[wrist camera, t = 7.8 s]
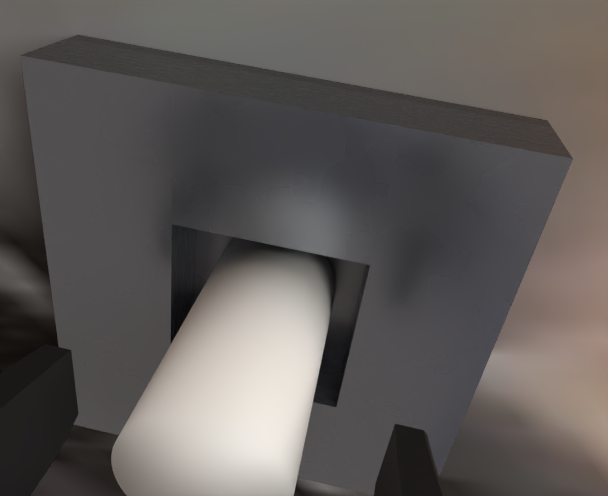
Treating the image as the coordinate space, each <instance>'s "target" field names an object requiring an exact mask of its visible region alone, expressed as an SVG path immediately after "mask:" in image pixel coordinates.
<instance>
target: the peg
mask: <svg viewBox="0 0 608 496" xmlns="http://www.w3.org/2000/svg"><path fill="white" fill-rule="evenodd" d="M335 291H336V281H335V275H334V272H333V269H332V267H331V265H330V263H329V261H328V260H327V258H326V257H325V256H324V255H319V254H314V253H309V252H304V251H299V250H295V249H290V248H285V247H280V246H275V245H270V244H265V243H260V242H256V241H251V240H246V239H241V238H236V239H235V240H233V241H232V242H231V243H230V244H229V245H228V246H227V248H226V249H225V250H224V252H223V254H222V255H221V257H220V259H219V261H218V262H217V264H216V266H215V268H214V269H213V271H212V273H211V275H210V276H209V278H208V280H207V282H206V283H205V285H204V287H203V289H202V291H201V292H200V294H199V296H198V298H197V299H196V301H195V303H194V305H193V306H192V308H191V310H190V312H189V313H188V315H187V317H186V319H185V320H184V322H183V324H182V326H181V327H180V329H179V331H178V333H177V334H176V336H175V338H174V340H173V341H172V343H171V345H170V347H169V349H168V350H167V352H166V354H165V356H164V357H163V359H162V361H161V363H160V364H159V366H158V368H157V370H156V371H155V373H154V375H153V377H152V378H151V380H150V382H149V384H148V385H147V387H146V389H145V391H144V392H143V394H142V396H141V398H140V399H139V401H138V403H137V405H136V407H135V408H134V410H133V412H132V414H131V415H130V417H129V419H128V421H127V422H126V424H125V426H124V428H123V429H122V431H121V433H120V435H119V436H118V438H117V440H116V442H115V444H114V446H113V449H112V453H111V463H112V469H113V473H114V476H115V478H116V480H117V482H118V484H119V486H120V487H121V489H122V490H123V491H124V493H125V494H126V495H127V496H294V491H295V487H296V482H297V477H298V472H299V467H300V462H301V457H302V453H303V448H304V443H305V438H306V433H307V428H308V423H309V419H310V414H311V409H312V404H313V399H314V394H315V389H316V384H317V380H318V375H319V370H320V365H321V360H322V355H323V350H324V346H325V341H326V336H327V331H328V326H329V321H330V316H331V312H332V307H333V302H334V297H335Z"/></svg>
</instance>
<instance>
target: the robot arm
mask: <svg viewBox="0 0 608 496" xmlns="http://www.w3.org/2000/svg"><path fill="white" fill-rule="evenodd" d="M78 414H79V413H78V405H77V396H76V387H75V378H74V370H73V361H72V352H71V350H69V349H65V348H61V347H56V346H52V345H47V344H45V345H43V346H41V347H40V348H38V349H37V350H35V351H33V352H32V353H30V354H29V355H27V356H26V357H24V358H23V359H21V360H19V361H18V362H16V363H15V364H13V365H12V366H10V367H9V368H7V369H6V370H4V371H3V372H1V373H0V496H30V495H31V493H32V492H33V491H34V489H35V488H36V486H37V485H38V483H39V482H40V480H41V479H42V477H43V476H44V474H45V473H46V471H47V470H48V468H49V467H50V465H51V464H52V462H53V461H54V459H55V458H56V456H57V454H58V453H59V451H60V449H61V447H62V445H63V443H64V442H65V440H66V438H67V436H68V434H69V432H70V430H71V428H72V426H73V424H74V422H75V420H76V418H77V416H78ZM374 496H445V494H444V491H443V488H442V485H441V482H440V478H439V475H438V472H437V469H436V465H435V462H434V459H433V455H432V451H431V447H430V444H429V439H428V435H427V434H426V432H425V431H424V430H421V429H417V428H412V427H408V426H403V425H399V424H395V425H394V428H393V431H392V434H391V437H390V440H389V444H388V447H387V450H386V453H385V456H384V459H383V462H382V465H381V468H380V471H379V474H378V477H377V480H376V483H375V491H374Z"/></svg>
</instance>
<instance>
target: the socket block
mask: <svg viewBox="0 0 608 496" xmlns="http://www.w3.org/2000/svg"><path fill="white" fill-rule="evenodd" d="M20 58H21V65H22V73H23V81H24V88H25V96H26V103H27V111H28V118H29V126H30V134H31V141H32V149H33V156H34V164H35V171H36V179H37V187H38V194H39V202H40V209H41V217H42V224H43V232H44V240H45V247H46V255H47V262H48V270H49V277H50V285H51V293H52V300H53V308H54V315H55V323H56V330H57V338H58V346H59V347H61V348H65V349H69V350H71V352H72V361H73V370H74V378H75V387H76V396H77V405H78V413H79V414H78V416H77V418H76V420H75V422H74V424H73V425H78V426H82V427H86V428H90V429H95V430H99V431H103V432H107V433H112V434H116V435H120V433H121V431H122V429H123V428H124V426H125V424H126V422H127V421H128V419H129V417H130V415H131V414H132V412H133V410H134V408H135V407H136V405H137V403H138V401H139V399H140V398H141V396H142V394H143V392H144V391H145V389H146V387H147V385H148V384H149V382H150V380H151V378H152V377H153V375H154V373H155V371H156V370H157V368H158V366H159V364H160V363H161V361H162V359H163V357H164V356H165V354H166V352H167V350H168V349H169V347H170V345H171V343H172V341H173V340H174V338H175V336H176V334H177V333H178V331H179V329H180V327H181V326H182V324H183V322H184V320H185V319H186V317H187V315H188V313H189V312H190V310H191V308H192V306H193V305H194V303H195V301H196V299H197V298H198V296H199V294H200V292H201V291H202V289H203V287H204V285H205V283H206V282H207V280H208V278H209V276H210V275H211V273H212V271H213V269H214V268H215V266H216V264H217V262H218V261H219V259H220V257H221V255H222V254H223V252H224V250H225V249H226V248H227V246H228V245H229V244H230V243H231V242H232V241H233V240H235V239H236V238H241V239H246V240H251V241H256V242H260V243H265V244H270V245H275V246H280V247H285V248H290V249H295V250H299V251H304V252H309V253H314V254H319V255H324V256H325V257H326V258H327V260H328V261H329V263H330V265H331V267H332V269H333V272H334V275H335V281H336V291H335V297H334V302H333V307H332V312H331V316H330V321H329V326H328V331H327V336H326V341H325V346H324V350H323V355H322V360H321V365H320V370H319V375H318V380H317V384H316V389H315V394H314V399H313V404H312V409H311V414H310V419H309V423H308V428H307V433H306V438H305V443H304V448H303V453H302V457H301V462H300V467H299V472H298V477H299V478H303V479H307V480H311V481H316V482H320V483H324V484H328V485H333V486H337V487H341V488H345V489H350V490H354V491H358V492H362V493H367V494H371V495H374V491H375V483H376V480H377V477H378V474H379V471H380V468H381V465H382V462H383V459H384V456H385V453H386V450H387V447H388V444H389V440H390V437H391V434H392V431H393V428H394V425H395V424H399V425H403V426H408V427H412V428H417V429H421V430H424V431H425V432H426V434H427V435H428V439H429V444H430V447H431V451H432V455H433V459H434V462H435V465H436V469H437V472H438V475H439V476H440V473H441V471H442V469H443V466H444V464H445V462H446V459H447V457H448V454H449V452H450V450H451V447H452V445H453V443H454V440H455V438H456V435H457V433H458V431H459V428H460V426H461V424H462V421H463V419H464V416H465V414H466V412H467V409H468V407H469V405H470V402H471V400H472V397H473V395H474V393H475V390H476V388H477V385H478V383H479V381H480V378H481V376H482V374H483V371H484V369H485V366H486V364H487V362H488V359H489V357H490V355H491V352H492V350H493V347H494V345H495V343H496V340H497V338H498V336H499V333H500V331H501V328H502V326H503V324H504V321H505V319H506V317H507V314H508V312H509V309H510V307H511V305H512V302H513V300H514V298H515V295H516V293H517V290H518V288H519V286H520V283H521V281H522V278H523V276H524V274H525V271H526V269H527V267H528V264H529V262H530V259H531V257H532V255H533V252H534V250H535V248H536V245H537V243H538V240H539V238H540V236H541V233H542V231H543V229H544V226H545V224H546V221H547V219H548V217H549V214H550V212H551V210H552V207H553V205H554V202H555V200H556V198H557V195H558V193H559V191H560V188H561V186H562V183H563V181H564V179H565V176H566V174H567V171H568V169H569V167H570V164H571V162H572V160H573V158H572V157H571V155H570V154H569V152H568V151H567V149H566V148H565V146H564V145H563V143H562V142H561V140H560V139H559V137H558V136H557V134H556V133H555V131H554V130H553V128H552V127H551V125H550V124H549V122H548V121H547V120H541V119H536V118H530V117H525V116H519V115H514V114H508V113H503V112H497V111H492V110H486V109H481V108H475V107H470V106H465V105H459V104H454V103H448V102H443V101H437V100H432V99H426V98H421V97H415V96H410V95H404V94H399V93H393V92H388V91H382V90H377V89H371V88H366V87H360V86H355V85H350V84H344V83H339V82H333V81H328V80H322V79H317V78H311V77H306V76H300V75H295V74H289V73H284V72H278V71H273V70H267V69H262V68H256V67H251V66H245V65H240V64H235V63H229V62H224V61H218V60H213V59H207V58H202V57H196V56H191V55H185V54H180V53H174V52H169V51H163V50H158V49H152V48H147V47H141V46H136V45H130V44H125V43H120V42H114V41H109V40H103V39H98V38H92V37H87V36H81V35H77V36H74V37H71V38H68V39H65V40H62V41H60V42H57V43H54V44H51V45H48V46H45V47H43V48H40V49H37V50H34V51H31V52H28V53H26V54H23V55H20Z"/></svg>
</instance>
